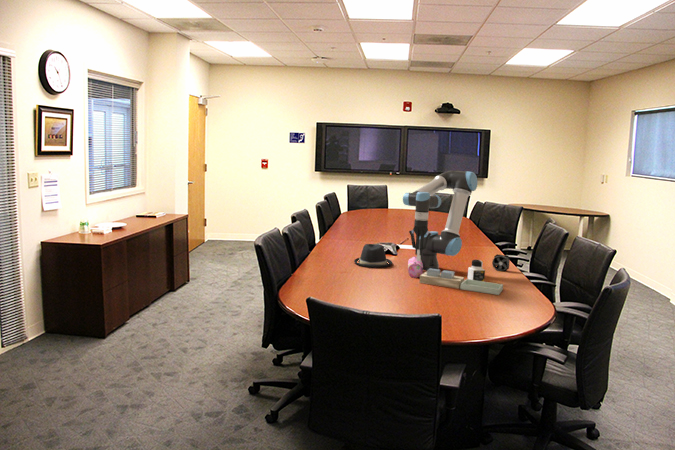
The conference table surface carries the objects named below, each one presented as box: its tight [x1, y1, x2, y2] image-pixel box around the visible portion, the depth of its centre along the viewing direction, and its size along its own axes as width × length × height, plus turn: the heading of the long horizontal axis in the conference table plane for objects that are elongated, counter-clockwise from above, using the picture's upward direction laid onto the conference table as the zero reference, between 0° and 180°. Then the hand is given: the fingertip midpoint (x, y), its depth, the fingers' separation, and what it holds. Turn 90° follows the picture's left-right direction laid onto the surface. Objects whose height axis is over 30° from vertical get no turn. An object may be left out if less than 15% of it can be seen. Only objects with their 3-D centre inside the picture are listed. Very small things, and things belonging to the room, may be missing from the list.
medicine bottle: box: [467, 259, 486, 282], centre depth 296 cm, size 7×7×12 cm
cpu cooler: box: [491, 254, 511, 272], centre depth 326 cm, size 10×6×10 cm, turn 62°
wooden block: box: [418, 271, 465, 290], centre depth 287 cm, size 12×22×4 cm, turn 63°
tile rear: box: [426, 268, 441, 277], centre depth 288 cm, size 6×6×3 cm
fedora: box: [353, 243, 393, 269], centre depth 331 cm, size 25×27×12 cm
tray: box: [459, 278, 504, 296], centre depth 277 cm, size 13×20×3 cm, turn 63°
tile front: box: [440, 270, 455, 279], centre depth 285 cm, size 6×6×3 cm
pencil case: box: [407, 256, 424, 279], centre depth 307 cm, size 21×9×9 cm, turn 172°
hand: (418, 260), depth 291 cm, fingers closed
